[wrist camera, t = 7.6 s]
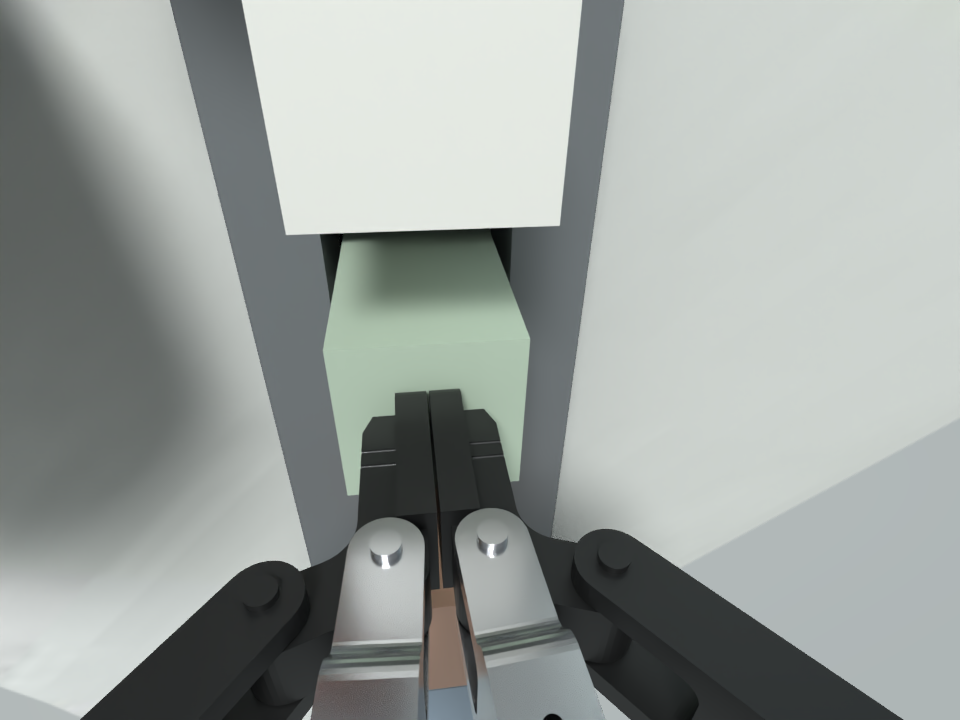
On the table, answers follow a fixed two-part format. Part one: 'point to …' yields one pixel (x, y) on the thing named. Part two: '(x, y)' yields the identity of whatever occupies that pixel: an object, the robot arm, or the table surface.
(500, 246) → the grey long flat block
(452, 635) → the terracotta key
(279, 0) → the ivory key
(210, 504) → the table surface
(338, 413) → the sage key
